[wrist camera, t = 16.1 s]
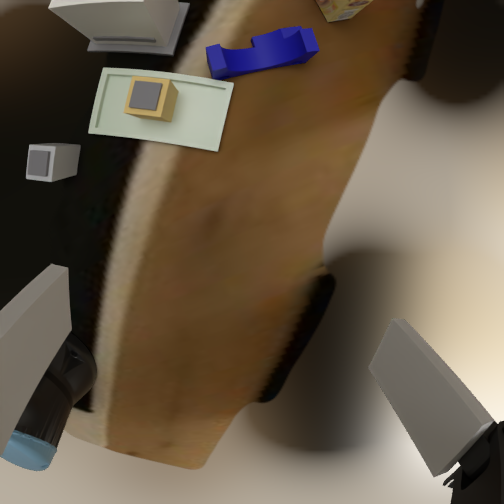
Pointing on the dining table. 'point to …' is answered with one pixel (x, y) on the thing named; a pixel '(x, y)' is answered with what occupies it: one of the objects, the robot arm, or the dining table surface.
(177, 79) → the tray
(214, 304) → the dining table surface
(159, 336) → the dining table surface
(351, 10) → the candy box
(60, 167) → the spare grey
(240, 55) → the cable clip
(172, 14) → the block
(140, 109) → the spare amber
